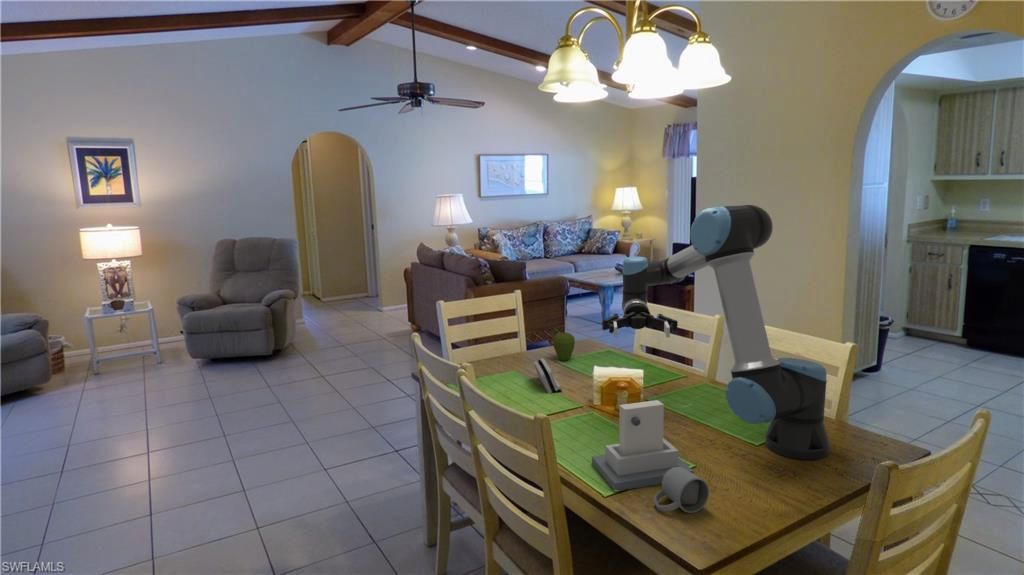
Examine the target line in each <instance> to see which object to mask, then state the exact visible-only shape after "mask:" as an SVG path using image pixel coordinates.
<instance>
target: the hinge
mask: <svg viewBox="0 0 1024 575" xmlns="http://www.w3.org/2000/svg"><path fill="white" fill-rule="evenodd" d="M532 363H533V366H534V368H535V371H536V373H537V376H538V379H539V378H540V379H539V380H540V382H541V384H542V383H543V384H542V385H543V387H544V389H545V390H546V392H547V391H548V392H547V393H548V394H553V391H555V392H557V391H559V390H560V392H561V393H564V391H563V388H562V386H561V385H560V384H559V382H558V381H557V379H556V378H555V376H554V375H553V372H552V370H551V368H550V367H549V365H548V363H547V361H546V360H545V359H544V358H538V360H535V361H533V362H532Z"/></svg>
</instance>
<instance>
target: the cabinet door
mask: <svg viewBox="0 0 1024 575" xmlns="http://www.w3.org/2000/svg"><path fill="white" fill-rule="evenodd" d="M664 412H665V404H664V403H663V402H661V401H660V400H658V399H656V400H648V401H641V402H633V403H625V404H619V444H620V449H619V455H620V456H621V457H623V456H629V455H636V454H643V453H649V452H656V451H663V438H664V420H665V418H664V417H665V416H664V415H665V414H664Z"/></svg>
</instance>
